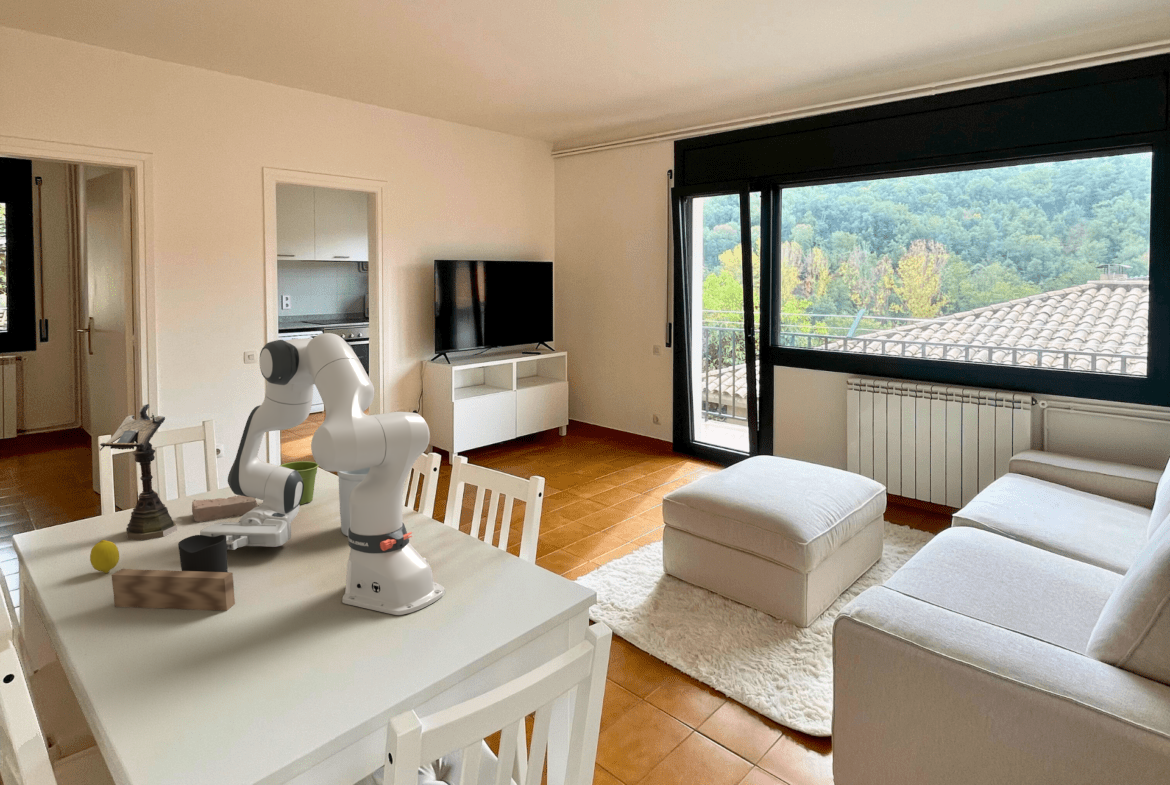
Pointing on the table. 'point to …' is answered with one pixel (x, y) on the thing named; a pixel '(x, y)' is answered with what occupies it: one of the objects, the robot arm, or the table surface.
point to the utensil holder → (348, 493)
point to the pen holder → (203, 553)
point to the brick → (222, 507)
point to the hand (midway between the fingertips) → (227, 546)
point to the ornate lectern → (143, 477)
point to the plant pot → (305, 477)
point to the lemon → (104, 556)
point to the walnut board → (173, 589)
